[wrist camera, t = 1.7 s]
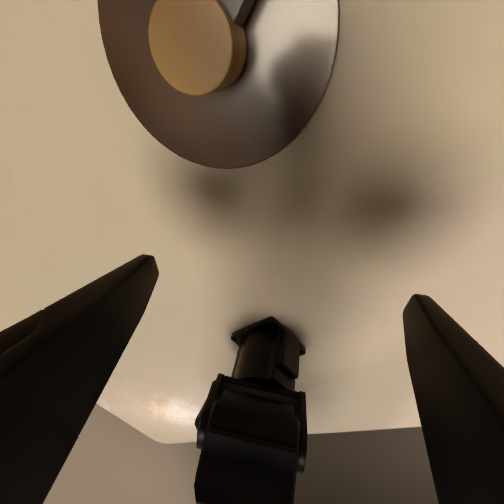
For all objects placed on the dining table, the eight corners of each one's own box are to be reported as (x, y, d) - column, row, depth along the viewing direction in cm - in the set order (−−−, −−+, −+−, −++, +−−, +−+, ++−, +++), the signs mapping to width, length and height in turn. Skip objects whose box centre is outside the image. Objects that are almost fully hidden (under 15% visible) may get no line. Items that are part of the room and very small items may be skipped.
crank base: (229, 185, 21) (215, 205, 18) (101, 41, 17) (57, 37, 14) (376, 61, 15) (392, 60, 12) (232, -209, 11) (203, -306, 8)
